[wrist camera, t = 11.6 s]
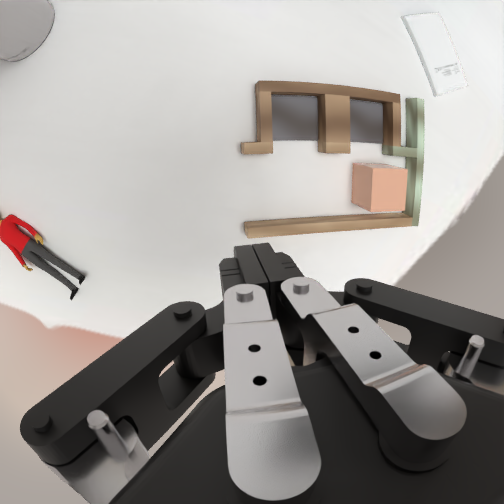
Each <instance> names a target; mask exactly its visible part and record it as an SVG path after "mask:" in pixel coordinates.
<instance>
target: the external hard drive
mask: <svg viewBox="0 0 504 504" xmlns="http://www.w3.org/2000/svg"><path fill="white" fill-rule="evenodd" d="M401 19H402V21H403V23H404V25H405V27H406V29H407V31H408V33H409V35H410V37H411V39H412V41H413V44H414V46H415V48H416V50H417V53H418V55H419V57H420V60H421V62H422V65H423V67H424V70H425V72H426V75H427V78H428V80H429V83H430V86H431V88H432V91H433V94H434V96H440V95H443V94H446V93H448V92H451V91H454V90H457V89H461V88H463V87H467V86H468V83H467V80H466V78H465V74H464V71H463V68H462V66H461V63H460V60H459V57H458V55H457V52H456V49H455V47H454V44H453V42H452V40H451V37H450V35H449V32H448V30H447V28H446V26H445V24H444V21H443V19H442V17H441V15H440V13H439V12H438V13H424V14H414V15H406V16H403V17H401Z"/></svg>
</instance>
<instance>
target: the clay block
mask: <svg viewBox="0 0 504 504" xmlns="http://www.w3.org/2000/svg"><path fill="white" fill-rule="evenodd" d="M407 174H408V169H404V168H400V167H396V166H391V165H387V164H368V163H353V172H352V200H351V202H352V203H354V204H356V205H358V206H360V207H362V208H364V209H366V210H368V211H370V212H381V211H405V202H406V190H407Z"/></svg>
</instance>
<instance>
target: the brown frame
mask: <svg viewBox="0 0 504 504" xmlns="http://www.w3.org/2000/svg"><path fill="white" fill-rule="evenodd" d="M255 93H256V121H257V142H244V143H241V153H242V154H267V153H273V140H318V152H323V153H348V154H350V142H367V143H381V144H382V154H386V155H392V156H404V157H406V168H405V169H408V174H407V190H406V202H405V211H402V213H382V214H361V215H341V216H324V217H307V218H292V219H277V220H263V221H250V222H244V225H245V233H246V236H247V238H260V237H272V236H285V235H297V234H310V233H323V232H336V231H350V230H364V229H378V228H392V227H407V226H418V223H419V214H420V205H421V194H422V181H423V164H424V99H420V98H409V99H406V147H403V146H401V104H400V94H396V93H390V92H384V91H378V90H372V89H365V88H358V87H350V86H342V85H332V84H321V83H308V82H290V81H258V82H257V83H256V84H255ZM271 95H301V96H271ZM303 96H317V97H303ZM350 99H353V100H350ZM354 100H361V101H354ZM363 101H369V102H363ZM371 102H377V103H371ZM378 103H382V104H378Z"/></svg>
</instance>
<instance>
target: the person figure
mask: <svg viewBox="0 0 504 504" xmlns="http://www.w3.org/2000/svg"><path fill="white" fill-rule="evenodd" d="M16 224H18V225H20V226H22V227H24V228H26V229H27V230H28V231H29V232H30V233H31V234H32V235H33V236H34V238H35V240H36V242H35V241H34V240H32V239H31V238H30V237H28V236H26V235H24V234H23V233H22V232H21V231H20V230H19V229H18V228H17V226H16ZM0 239H1V241H2V242H3V243H4V244H6V245H7V246H8V248H9V249H10V250H11V251H12V252H13V253H14V255H15V256H16V258H17V259H18V260H19V262H20V263H21V264H22V266H23V267H25V268H26V269H27V270H28V271H31V270H33V269H32V268H28V266H26V263H25V262H24V260H23V258H22V257H21V255H23V256H24V257H26V258H27V259H28V260H29V261H31V262H32V263H33V264H35V265H36V266H37V267H39V268H41V269H42V270H44V271H46V272H47V273H49V274H50V275H52V276H53V277H54V278H56V279H57V280H59V281H60V282H62V283H63V284H64V285H66V286H67V287H68V288H69V289H70V290H71V291H72V293H71V296H70V299H71V300H72V299H73V297H74V296H75V294H76V293H77V291H78V289H79V288H77V287H76V286H75V285H74V284H73V283H71V282H70V281H69V280H68V279H66V278H65V277H64V276H63V275H62V274H60V273H59V272H58V271H57V270H55V269H54V268H52V267H51V266H49V265H48V264H46V263H45V262H44V261H43V260H42V259H41V258H40V257H39V256H41V257H42V258H44V259H46V260H47V261H49V262H51V263H52V264H54V265H56V266H57V267H59V268H61V269H62V270H64V271H65V272H67V273H69V274H71V275H72V276H74V277H75V278H77V279H78V280H79V284H80V285H81V283H82V282H83V281H84V279H85V276H83V275H82V274H80V273H78V272H77V271H75V270H74V269H72V268H71V267H69V266H68V265H66V264H65V263H64V262H62V261H61V260H59V259H57V258H56V257H54V256H53V255H52V254H50V253H49V252H48V251H47V250H46V249H44V248H43V247H42V246H41V245H39V244H38V241H37V240H39V241H40V242H41V244H43V239H42V237H41V236H39V234H38V233H37V232H36V231H35V230H34V229H33V228H32V227H31V226H30V225H29V224H27V223H26V222H24V221H22V220H21V219H19V218H17V217H16V216H14V215H9V216H8V217H6V218H5V219H3V220H0ZM19 252H20V253H19ZM20 254H21V255H20ZM38 255H39V256H38Z"/></svg>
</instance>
